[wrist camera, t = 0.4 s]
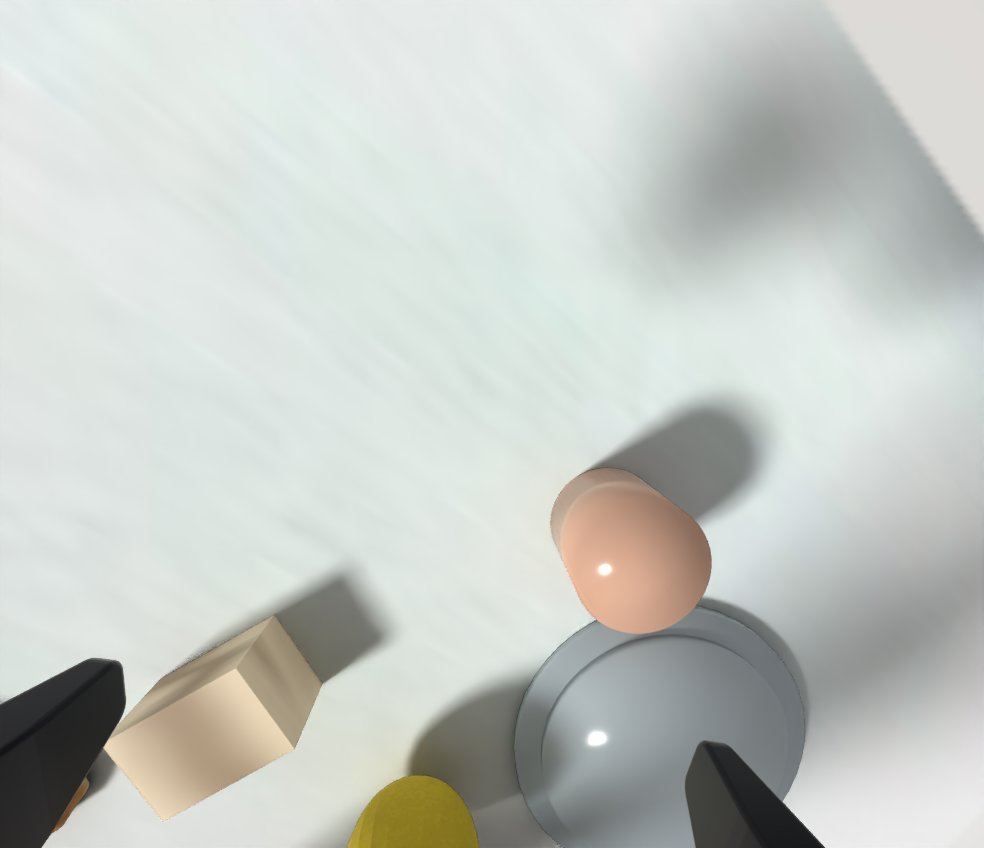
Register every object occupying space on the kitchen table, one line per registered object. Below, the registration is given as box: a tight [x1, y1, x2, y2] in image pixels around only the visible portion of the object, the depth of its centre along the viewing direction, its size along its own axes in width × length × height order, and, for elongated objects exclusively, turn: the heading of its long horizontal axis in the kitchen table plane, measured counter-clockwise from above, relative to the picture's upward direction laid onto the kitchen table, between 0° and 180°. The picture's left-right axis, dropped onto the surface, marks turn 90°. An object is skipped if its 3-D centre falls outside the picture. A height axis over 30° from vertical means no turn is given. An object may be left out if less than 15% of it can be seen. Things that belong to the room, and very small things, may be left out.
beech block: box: [104, 615, 322, 822], centre depth 22 cm, size 6×4×4 cm, turn 120°
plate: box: [514, 606, 805, 848], centre depth 24 cm, size 14×14×1 cm
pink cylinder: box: [550, 468, 711, 634], centre depth 21 cm, size 5×5×5 cm
